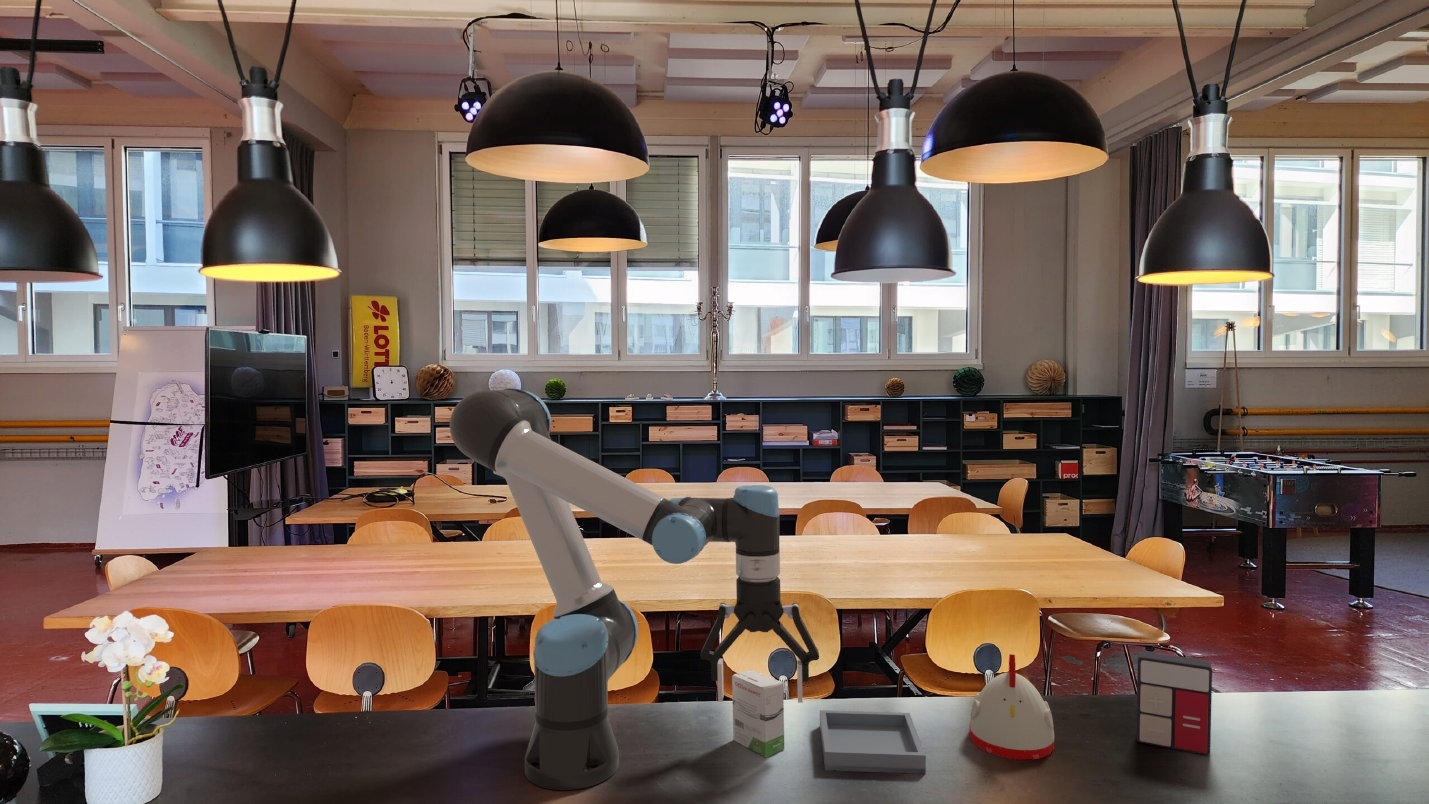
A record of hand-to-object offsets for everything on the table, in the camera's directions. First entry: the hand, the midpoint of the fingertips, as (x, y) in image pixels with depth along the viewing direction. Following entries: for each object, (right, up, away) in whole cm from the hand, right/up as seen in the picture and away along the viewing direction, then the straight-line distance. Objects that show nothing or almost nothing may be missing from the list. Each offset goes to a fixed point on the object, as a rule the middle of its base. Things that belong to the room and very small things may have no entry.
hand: (760, 699), depth 139 cm
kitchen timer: (+44, -8, +2) cm, 45 cm away
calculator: (+71, -8, 0) cm, 71 cm away
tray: (+19, -8, -1) cm, 20 cm away
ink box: (0, -8, 0) cm, 8 cm away
